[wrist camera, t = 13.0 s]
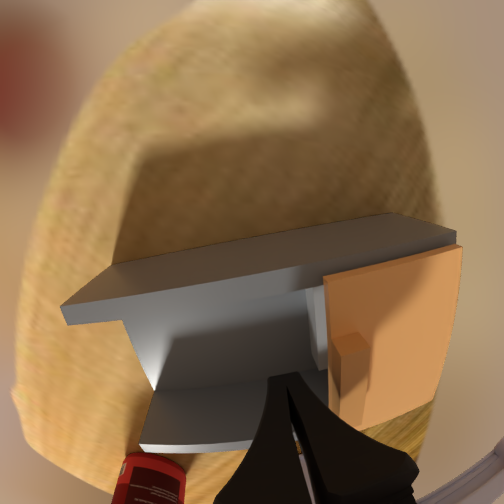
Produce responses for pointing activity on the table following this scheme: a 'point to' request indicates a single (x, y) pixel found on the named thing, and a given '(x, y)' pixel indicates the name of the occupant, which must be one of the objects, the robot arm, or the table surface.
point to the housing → (237, 321)
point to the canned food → (149, 481)
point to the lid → (389, 334)
